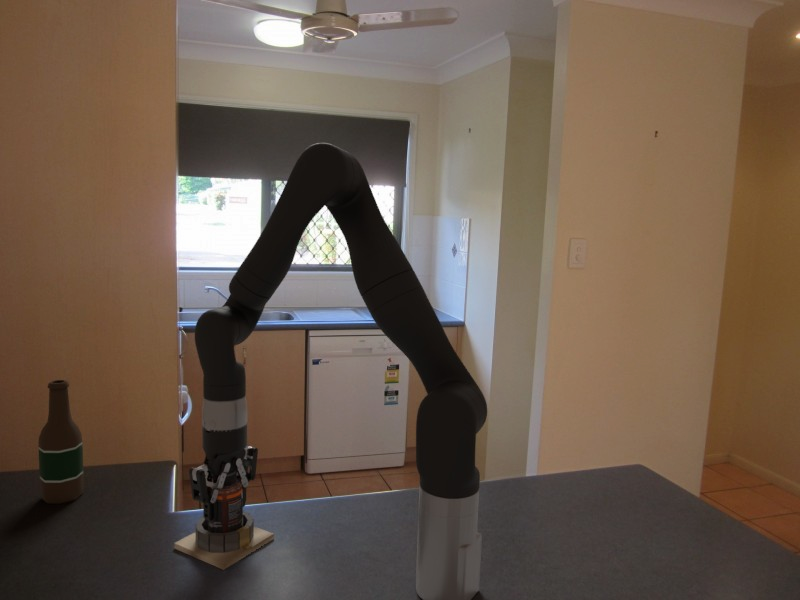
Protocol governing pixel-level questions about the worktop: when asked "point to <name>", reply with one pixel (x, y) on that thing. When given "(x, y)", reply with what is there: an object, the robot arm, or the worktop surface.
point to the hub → (223, 543)
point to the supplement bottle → (228, 506)
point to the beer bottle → (60, 450)
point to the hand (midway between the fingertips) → (225, 513)
